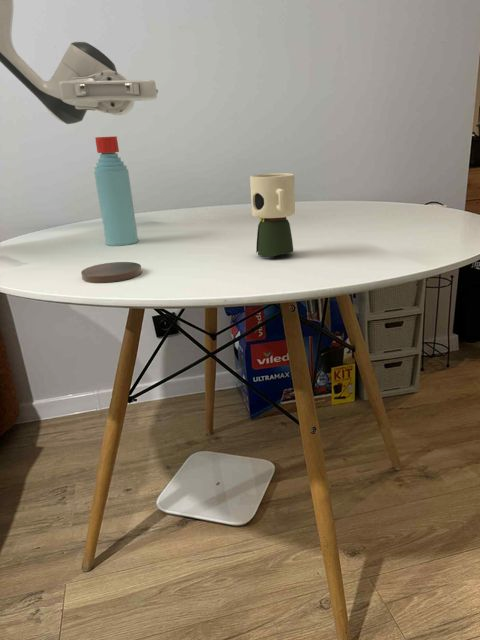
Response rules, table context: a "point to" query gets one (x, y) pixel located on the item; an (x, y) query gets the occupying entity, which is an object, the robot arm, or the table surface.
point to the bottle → (115, 200)
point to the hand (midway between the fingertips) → (105, 88)
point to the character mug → (273, 212)
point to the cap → (107, 144)
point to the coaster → (111, 272)
